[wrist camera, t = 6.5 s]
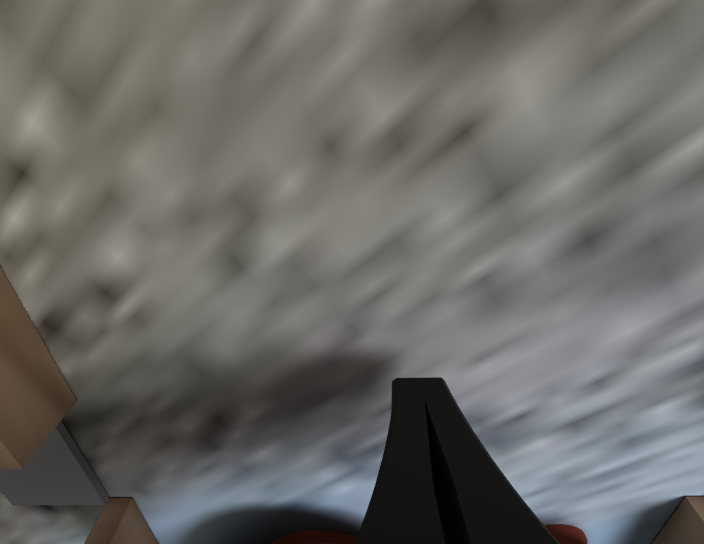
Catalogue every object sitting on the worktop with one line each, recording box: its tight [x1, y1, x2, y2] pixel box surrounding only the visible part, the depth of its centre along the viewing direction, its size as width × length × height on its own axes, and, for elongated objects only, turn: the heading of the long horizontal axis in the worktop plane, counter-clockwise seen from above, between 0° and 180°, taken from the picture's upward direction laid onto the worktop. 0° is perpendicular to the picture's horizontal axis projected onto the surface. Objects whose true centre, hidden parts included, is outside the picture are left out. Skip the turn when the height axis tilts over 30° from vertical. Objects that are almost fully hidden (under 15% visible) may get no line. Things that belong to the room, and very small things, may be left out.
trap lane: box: [0, 267, 704, 544], centre depth 15 cm, size 25×29×3 cm
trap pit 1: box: [0, 421, 109, 505], centre depth 15 cm, size 4×6×1 cm, turn 2°
